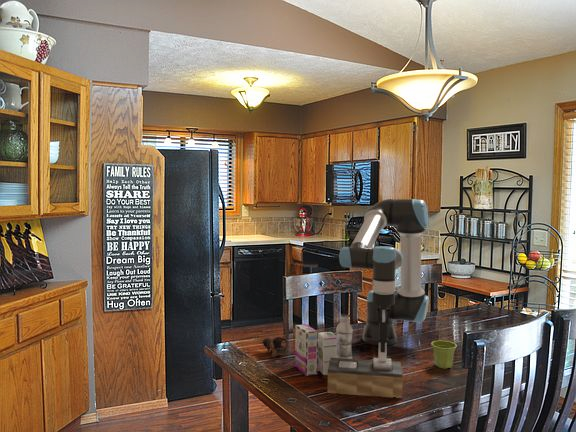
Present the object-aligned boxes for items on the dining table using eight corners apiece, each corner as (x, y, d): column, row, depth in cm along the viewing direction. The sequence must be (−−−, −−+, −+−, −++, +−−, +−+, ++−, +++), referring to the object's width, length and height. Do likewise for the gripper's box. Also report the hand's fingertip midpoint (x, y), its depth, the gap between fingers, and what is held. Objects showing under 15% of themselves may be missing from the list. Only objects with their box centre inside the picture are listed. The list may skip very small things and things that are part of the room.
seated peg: (339, 381, 178) (339, 361, 178) (356, 382, 177) (356, 362, 177) (338, 388, 172) (338, 367, 172) (355, 389, 171) (356, 368, 171)
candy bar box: (318, 374, 186) (318, 331, 185) (306, 376, 184) (306, 332, 183) (306, 364, 196) (306, 323, 195) (294, 366, 194) (294, 324, 193)
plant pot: (455, 371, 189) (456, 349, 189) (429, 368, 193) (430, 346, 192) (456, 363, 198) (457, 342, 198) (431, 360, 201) (432, 339, 201)
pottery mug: (291, 351, 213) (293, 338, 209) (283, 367, 206) (285, 354, 201) (265, 342, 216) (266, 328, 212) (256, 357, 209) (257, 344, 204)
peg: (373, 378, 176) (373, 357, 176) (390, 379, 175) (391, 358, 175) (373, 385, 170) (373, 363, 170) (391, 386, 169) (391, 364, 169)
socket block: (330, 379, 182) (330, 357, 181) (400, 383, 178) (400, 361, 177) (327, 392, 170) (327, 369, 169) (402, 398, 166) (402, 374, 165)
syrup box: (337, 373, 187) (337, 335, 186) (322, 375, 185) (322, 336, 184) (331, 368, 192) (332, 331, 191) (317, 369, 191) (317, 332, 190)
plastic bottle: (342, 371, 189) (342, 319, 188) (332, 365, 195) (332, 314, 194) (356, 368, 192) (356, 317, 191) (346, 363, 198) (346, 313, 197)
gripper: (372, 287, 178) (371, 353, 179) (372, 295, 165) (371, 366, 166) (394, 288, 176) (392, 354, 178) (395, 296, 164) (394, 367, 165)
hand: (382, 360), depth 172 cm, fingers closed
